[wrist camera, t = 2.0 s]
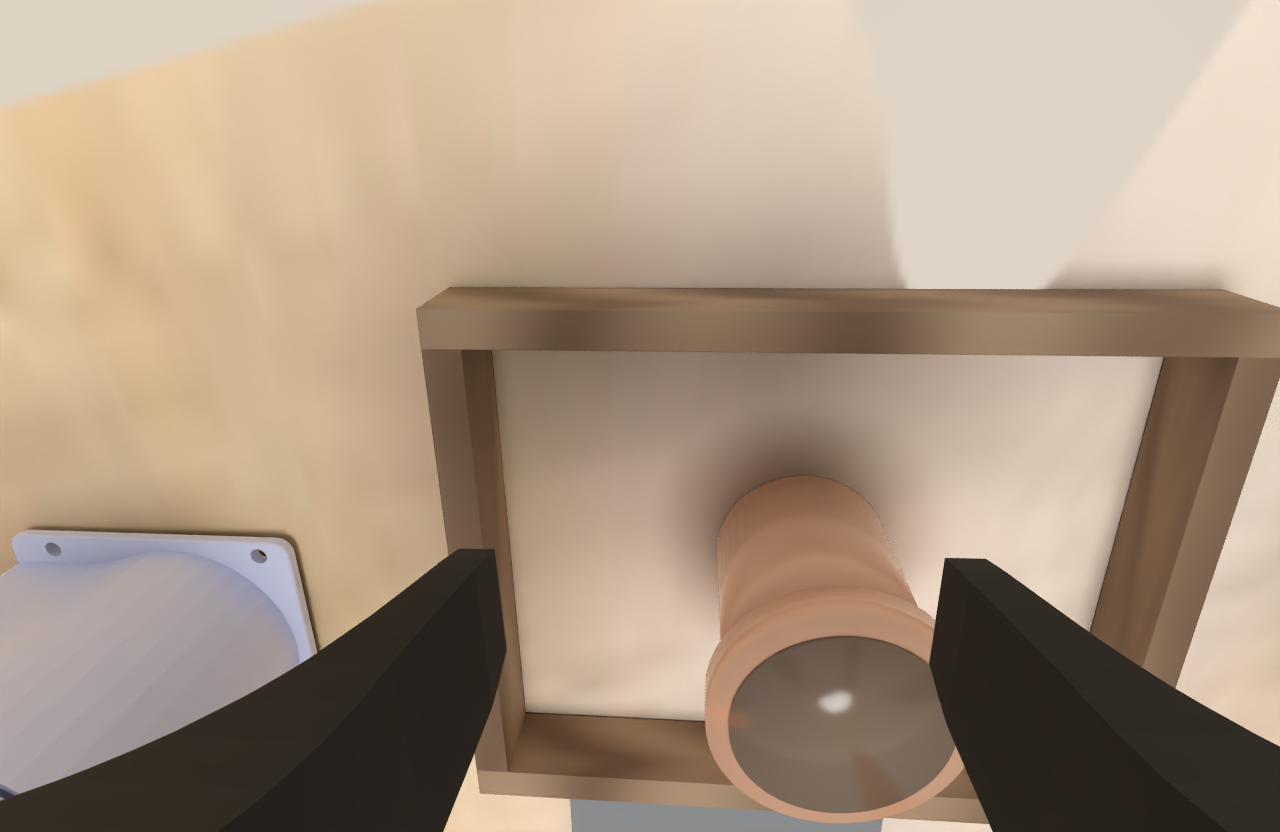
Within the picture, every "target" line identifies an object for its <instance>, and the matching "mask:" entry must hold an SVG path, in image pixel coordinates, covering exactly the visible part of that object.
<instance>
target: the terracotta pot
mask: <svg viewBox="0 0 1280 832" xmlns="http://www.w3.org/2000/svg"><path fill="white" fill-rule="evenodd" d="M717 554H718V582H719V609H720V637H721V641H720V643H719V644H718V646H717V647H716V649H715V651H714V653H713V655H712V658H711V660H710V663H709V666H708V670H707V673H706V681H705V727H706V736H707V740H708V744H709V748H710V750H711V752H712V755H713V757H714V759H715V761H716V763H717V764H718V766H719V768H720V769H721V771H722V772H723V773H724V774H725V776H726V777H727V778H728V779H729V780H730V781H731V782H732V783H733V784H734V785H735V786H736V787H737V788H738V789H739V790H740V791H742V792H743V793H744V794H746V795H747V796H748V797H750V798H751V799H753V800H754V801H756V802H758V803H760V804H762V805H763V806H765V807H767V808H770V809H772V810H774V811H777V812H779V813H781V814H785V815H788V816H791V817H794V818H798V819H803V820H808V821H814V822H823V823H857V822H866V821H872V820H878V819H882V818H886V817H889V816H893V815H896V814H899V813H902V812H904V811H907V810H910V809H912V808H914V807H916V806H918V805H920V804H922V803H924V802H926V801H927V800H929V799H930V798H932V797H933V796H935V795H937V794H938V793H939V792H941V791H942V790H943V789H944V788H945V787H947V786H948V785H949V784H950V783H951V782H952V781H953V780H954V779H955V778H956V777H957V776H958V775H959V774H960V773H961V771H962V770H963V768H964V764H963V762H962V760H961V757H960V755H959V753H958V750H957V748H956V746H955V743H954V741H953V739H952V736H951V734H950V731H949V729H948V727H947V724H946V721H945V718H944V714H943V711H942V708H941V704H940V701H939V698H938V694H937V690H936V687H935V683H934V679H933V676H932V672H931V668H930V665H929V661H930V654H931V647H932V641H933V634H934V628H935V621H936V620H934V619H933V618H932V617H931V616H930V615H928V614H927V613H926V612H925V611H923V610H921V609H920V608H918V606H917V604H916V602H915V600H914V597H913V595H912V593H911V591H910V588H909V586H908V584H907V582H906V579H905V577H904V575H903V573H902V571H901V568H900V566H899V564H898V562H897V559H896V557H895V555H894V553H893V550H892V548H891V546H890V544H889V541H888V539H887V537H886V535H885V533H884V530H883V528H882V526H881V524H880V521H879V519H878V517H877V515H876V513H875V512H874V510H873V509H872V507H871V506H870V505H869V504H868V502H867V501H866V500H865V499H864V498H863V497H861V496H860V495H859V494H858V493H857V492H855V491H854V490H852V489H851V488H849V487H847V486H845V485H843V484H841V483H839V482H836V481H833V480H830V479H826V478H821V477H815V476H792V477H785V478H780V479H777V480H773V481H770V482H768V483H765V484H763V485H761V486H759V487H757V488H755V489H753V490H752V491H750V492H749V493H748V494H746V495H745V496H743V497H742V498H741V499H740V500H739V501H738V502H737V503H736V504H735V505H734V506H733V508H732V509H731V510H730V511H729V513H728V515H727V516H726V518H725V520H724V522H723V524H722V526H721V529H720V533H719V536H718V544H717Z"/></svg>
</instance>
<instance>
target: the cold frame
mask: <svg viewBox="0 0 1280 832" xmlns="http://www.w3.org/2000/svg"><path fill="white" fill-rule="evenodd" d="M416 312H417V320H418V327H419V335H420V342H421V350H422V358H423V365H424V373H425V380H426V388H427V395H428V403H429V411H430V418H431V426H432V433H433V441H434V449H435V456H436V464H437V471H438V479H439V486H440V494H441V502H442V509H443V517H444V524H445V532H446V539H447V547H448V555H450V554H452V553H453V552H455V551H456V550H458V549H459V548H460V549H495V555H496V564H497V572H498V580H499V588H500V597H501V605H502V613H503V622H504V630H505V638H506V646H507V651H506V656H505V660H504V664H503V668H502V672H501V676H500V681H499V684H498V688H497V692H496V696H495V699H494V703H493V707H492V709H491V712H490V714H489V717H488V720H487V722H486V725H485V727H484V730H483V733H482V735H481V738H480V740H479V743H478V745H477V748H476V750H475V759H476V767H477V774H478V782H479V790H480V793H482V794H499V795H515V796H532V797H548V798H565V799H582V800H598V801H615V802H632V803H648V804H665V805H681V806H698V807H715V808H731V809H748V810H764V811H774V810H772V809H770V808H767V807H765V806H763V805H762V804H760V803H758V802H756V801H754V800H753V799H751V798H750V797H748V796H747V795H746V794H744V793H743V792H742V791H740V790H739V789H738V788H737V787H736V786H735V785H734V784H733V783H732V782H731V781H730V780H729V779H728V778H727V777H726V776H725V774H724V773H723V772H722V771H721V769H720V768H719V766H718V764H717V763H716V761H715V759H714V757H713V755H712V752H711V750H710V748H709V744H708V740H707V736H706V727H705V722H692V721H673V720H653V719H633V718H614V717H594V716H574V715H555V714H535V713H525V702H524V692H523V681H522V670H521V660H520V649H519V639H518V628H517V617H516V607H515V596H514V586H513V575H512V564H511V554H510V543H509V532H508V522H507V511H506V501H505V490H504V479H503V469H502V458H501V448H500V437H499V426H498V416H497V405H496V395H495V384H494V373H493V363H492V352H491V350H569V351H665V352H761V353H857V354H953V355H1049V356H1146V357H1165V358H1164V362H1163V365H1162V369H1161V373H1160V376H1159V380H1158V384H1157V388H1156V391H1155V395H1154V399H1153V402H1152V406H1151V410H1150V413H1149V417H1148V421H1147V425H1146V428H1145V432H1144V436H1143V439H1142V443H1141V447H1140V450H1139V454H1138V458H1137V462H1136V465H1135V469H1134V473H1133V476H1132V480H1131V484H1130V487H1129V491H1128V495H1127V499H1126V502H1125V506H1124V510H1123V513H1122V517H1121V521H1120V524H1119V528H1118V532H1117V536H1116V539H1115V543H1114V547H1113V550H1112V554H1111V558H1110V561H1109V565H1108V569H1107V573H1106V576H1105V580H1104V584H1103V587H1102V591H1101V595H1100V598H1099V602H1098V606H1097V609H1096V613H1095V617H1094V621H1093V624H1092V628H1091V632H1090V633H1091V634H1093V635H1094V636H1095V637H1097V638H1098V639H1100V640H1101V641H1103V642H1104V643H1106V644H1107V645H1109V646H1110V647H1112V648H1113V649H1114V650H1116V651H1117V652H1119V653H1120V654H1122V655H1123V656H1125V657H1126V658H1128V659H1129V660H1131V661H1133V662H1134V663H1136V664H1137V665H1139V666H1140V667H1142V668H1144V669H1145V670H1147V671H1148V672H1150V673H1151V674H1153V675H1155V676H1156V677H1158V678H1159V679H1161V680H1162V681H1164V682H1166V683H1167V684H1169V685H1170V686H1172V687H1174V688H1176V685H1177V682H1178V679H1179V676H1180V673H1181V670H1182V667H1183V664H1184V661H1185V658H1186V655H1187V652H1188V649H1189V646H1190V643H1191V640H1192V637H1193V634H1194V631H1195V628H1196V625H1197V622H1198V619H1199V616H1200V613H1201V610H1202V607H1203V604H1204V601H1205V598H1206V595H1207V592H1208V589H1209V586H1210V583H1211V581H1212V578H1213V575H1214V572H1215V569H1216V566H1217V563H1218V560H1219V557H1220V554H1221V551H1222V548H1223V545H1224V542H1225V539H1226V536H1227V533H1228V530H1229V527H1230V524H1231V521H1232V518H1233V515H1234V512H1235V509H1236V506H1237V503H1238V500H1239V497H1240V494H1241V491H1242V488H1243V485H1244V482H1245V479H1246V476H1247V474H1248V471H1249V468H1250V465H1251V462H1252V459H1253V456H1254V453H1255V450H1256V447H1257V444H1258V441H1259V438H1260V435H1261V432H1262V429H1263V426H1264V423H1265V420H1266V417H1267V414H1268V411H1269V408H1270V405H1271V402H1272V399H1273V396H1274V393H1275V390H1276V387H1277V384H1278V381H1279V378H1280V308H1279V307H1276V306H1273V305H1270V304H1267V303H1264V302H1260V301H1257V300H1254V299H1251V298H1248V297H1245V296H1242V295H1238V294H1235V293H1232V292H1229V291H1226V290H1023V289H1022V290H1021V289H1019V290H1018V289H1016V290H1014V289H1007V290H1005V289H999V290H998V289H734V288H448V289H447V290H445V291H443V292H442V293H440V294H439V295H437V296H436V297H434V298H433V299H431V300H430V301H428V302H426V303H425V304H423V305H422V306H420V307H419V308H417V309H416ZM886 818H897V819H914V820H931V821H947V822H964V823H981V824H989V822H988V819H987V817H986V815H985V813H984V810H983V808H982V806H981V803H980V801H979V799H978V797H977V794H976V792H975V790H974V787H973V785H972V783H971V781H970V778H969V776H968V774H967V771H966V769H965V767H964V768H963V770H962V771H961V773H960V774H959V775H958V776H957V777H956V778H955V779H954V780H953V781H952V782H951V783H950V784H949V785H948V786H947V787H945V788H944V789H943V790H942V791H941V792H939V793H938V794H937V795H935V796H933V797H932V798H930V799H929V800H927V801H926V802H924V803H922V804H920V805H918V806H916V807H914V808H912V809H910V810H907V811H904V812H902V813H899V814H896V815H893V816H889V817H886Z"/></svg>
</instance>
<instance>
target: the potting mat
mask: <svg viewBox="0 0 1280 832" xmlns="http://www.w3.org/2000/svg"><path fill="white" fill-rule="evenodd" d="M570 802H571V817H572V832H881V826H882V820H883V818H882V819H878V820H872V821H866V822H857V823H823V822H814V821H808V820H803V819H798V818H794V817H791V816H788V815H785V814H781V813H779V812H777V811H764V810H748V809H731V808H715V807H698V806H681V805H665V804H648V803H632V802H615V801H598V800H582V799H570Z"/></svg>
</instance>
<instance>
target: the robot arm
mask: <svg viewBox="0 0 1280 832" xmlns="http://www.w3.org/2000/svg"><path fill="white" fill-rule="evenodd" d="M11 545H12V549H13V552H14V554H15V557H16V559H17V562H18V564H16V565H14V566H13V567H11V568H10V569H8V570H7V571H5V572H3V573H2V574H0V832H443V831H444V828H445V826H446V823H447V821H448V818H449V816H450V813H451V811H452V808H453V806H454V803H455V801H456V798H457V796H458V793H459V791H460V788H461V786H462V783H463V781H464V778H465V776H466V773H467V771H468V768H469V766H470V763H471V761H472V758H473V756H474V753H475V750H476V748H477V745H478V743H479V740H480V738H481V735H482V733H483V730H484V727H485V725H486V722H487V720H488V717H489V714H490V712H491V709H492V707H493V703H494V699H495V696H496V692H497V688H498V684H499V681H500V676H501V672H502V668H503V664H504V660H505V656H506V651H507V646H506V638H505V630H504V622H503V613H502V605H501V597H500V588H499V580H498V572H497V564H496V555H495V549H460V548H459V549H458V550H456V551H455V552H453V553H452V554H450V555H449V556H448V557H446V558H445V559H444V560H442V561H441V562H440V563H438V564H437V565H436V566H434V567H433V568H432V569H431V570H429V571H428V572H427V573H426V574H424V575H423V576H422V577H420V578H419V579H418V580H417V581H415V582H414V583H413V584H411V585H410V586H409V587H408V588H406V589H405V590H404V591H402V592H401V593H400V594H398V595H397V596H396V597H395V598H393V599H392V600H391V601H389V602H388V603H387V604H385V605H384V606H383V607H381V608H380V609H379V610H378V611H376V612H375V613H374V614H372V615H371V616H370V617H368V618H367V619H365V620H364V621H362V622H361V623H359V624H358V625H357V626H355V627H354V628H352V629H351V630H349V631H348V632H347V633H345V634H344V635H342V636H341V637H339V638H338V639H337V640H335V641H334V642H332V643H331V644H329V645H328V646H327V647H325V648H324V649H322V650H321V651H319V652H318V653H317V649H316V645H315V640H314V636H313V631H312V627H311V622H310V618H309V614H308V609H307V605H306V600H305V596H304V591H303V587H302V582H301V578H300V574H299V569H298V565H297V560H296V556H295V551H294V549H293V547H292V546H291V545H290V543H289V542H287V541H286V540H284V539H281V538H273V537H242V536H211V535H180V534H149V533H118V532H87V531H56V530H24V531H22V532H21V533H19V534H17V535H16V536H14V537H13V538H12V541H11ZM258 550H261V551H263V552H264V553H265V555H266V556H267V557H266V556H263V555H262V554H260V553H259V551H258ZM929 665H930V668H931V672H932V676H933V679H934V683H935V687H936V690H937V694H938V698H939V701H940V704H941V708H942V711H943V714H944V718H945V721H946V724H947V727H948V729H949V731H950V734H951V736H952V739H953V741H954V743H955V746H956V748H957V750H958V753H959V755H960V757H961V760H962V762H963V764H964V767H965V769H966V771H967V774H968V776H969V778H970V781H971V783H972V785H973V787H974V790H975V792H976V794H977V797H978V799H979V801H980V803H981V806H982V808H983V810H984V813H985V815H986V817H987V819H988V822H989V824H990V826H991V829H992V831H993V832H1280V747H1279V746H1277V745H1275V744H1274V743H1272V742H1270V741H1268V740H1266V739H1264V738H1262V737H1260V736H1258V735H1256V734H1254V733H1253V732H1251V731H1249V730H1247V729H1245V728H1244V727H1242V726H1240V725H1238V724H1236V723H1235V722H1233V721H1231V720H1229V719H1227V718H1226V717H1224V716H1222V715H1220V714H1218V713H1217V712H1215V711H1213V710H1211V709H1209V708H1208V707H1206V706H1204V705H1202V704H1200V703H1199V702H1197V701H1195V700H1194V699H1192V698H1190V697H1189V696H1187V695H1185V694H1184V693H1182V692H1180V691H1178V690H1177V689H1175V688H1174V687H1172V686H1170V685H1169V684H1167V683H1166V682H1164V681H1162V680H1161V679H1159V678H1158V677H1156V676H1155V675H1153V674H1151V673H1150V672H1148V671H1147V670H1145V669H1144V668H1142V667H1140V666H1139V665H1137V664H1136V663H1134V662H1133V661H1131V660H1129V659H1128V658H1126V657H1125V656H1123V655H1122V654H1120V653H1119V652H1117V651H1116V650H1114V649H1113V648H1112V647H1110V646H1109V645H1107V644H1106V643H1104V642H1103V641H1101V640H1100V639H1098V638H1097V637H1095V636H1094V635H1093V634H1091V633H1090V632H1088V631H1087V630H1085V629H1084V628H1083V627H1081V626H1080V625H1078V624H1077V623H1075V622H1074V621H1073V620H1071V619H1070V618H1068V617H1067V616H1066V615H1064V614H1063V613H1062V612H1060V611H1059V610H1057V609H1056V608H1055V607H1053V606H1052V605H1050V604H1049V603H1048V602H1046V601H1045V600H1044V599H1042V598H1041V597H1039V596H1038V595H1037V594H1035V593H1034V592H1033V591H1031V590H1030V589H1028V588H1027V587H1026V586H1024V585H1023V584H1022V583H1020V582H1019V581H1017V580H1016V579H1015V578H1013V577H1012V576H1010V575H1009V574H1008V573H1006V572H1005V571H1003V570H1002V569H1000V568H999V567H997V566H996V565H994V564H993V563H991V562H990V561H988V560H987V559H966V558H945V562H944V568H943V575H942V581H941V588H940V595H939V601H938V608H937V614H936V621H935V628H934V634H933V641H932V647H931V654H930V661H929Z"/></svg>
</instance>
